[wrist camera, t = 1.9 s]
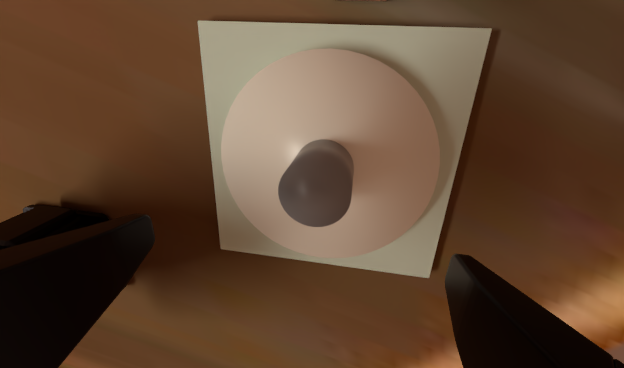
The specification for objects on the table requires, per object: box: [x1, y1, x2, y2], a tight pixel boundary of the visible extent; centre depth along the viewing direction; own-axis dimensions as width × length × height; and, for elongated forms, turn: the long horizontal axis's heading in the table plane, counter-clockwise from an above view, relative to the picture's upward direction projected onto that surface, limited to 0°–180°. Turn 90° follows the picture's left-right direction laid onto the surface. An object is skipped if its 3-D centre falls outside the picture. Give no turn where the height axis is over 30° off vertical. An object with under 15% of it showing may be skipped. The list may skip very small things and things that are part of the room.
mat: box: [198, 21, 492, 278], centre depth 16 cm, size 13×13×1 cm
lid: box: [221, 48, 440, 258], centre depth 14 cm, size 11×11×4 cm
